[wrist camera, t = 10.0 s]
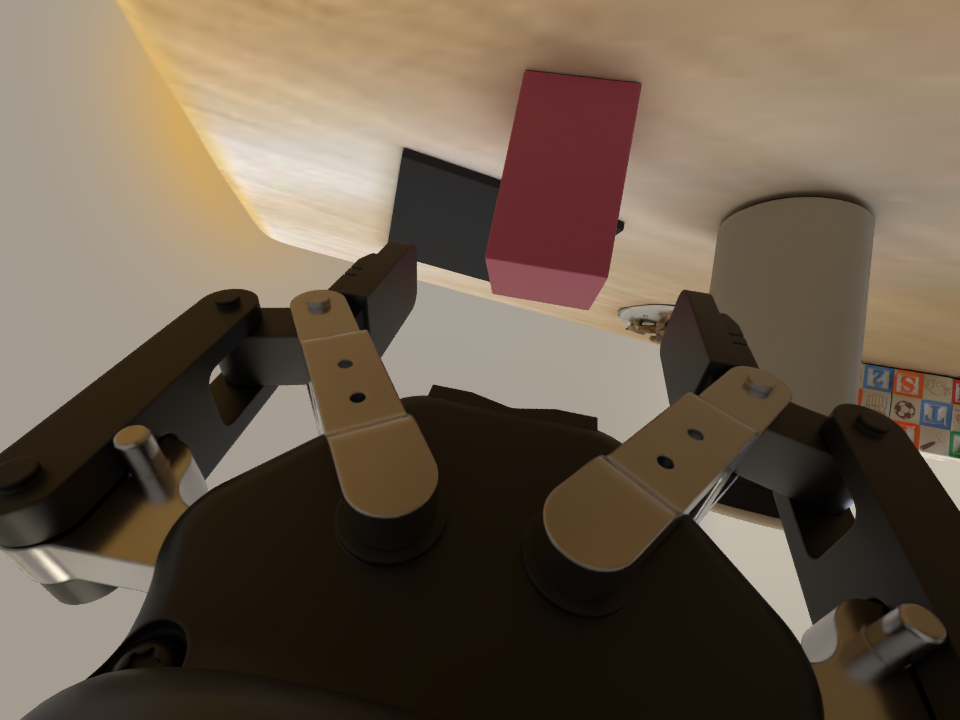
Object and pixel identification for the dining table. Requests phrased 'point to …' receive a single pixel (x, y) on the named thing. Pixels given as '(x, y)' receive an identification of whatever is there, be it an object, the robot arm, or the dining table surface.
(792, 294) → the travel mug
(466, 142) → the dining table surface
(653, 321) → the frog figurine
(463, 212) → the mat
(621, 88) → the block
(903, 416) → the stack of blocks
